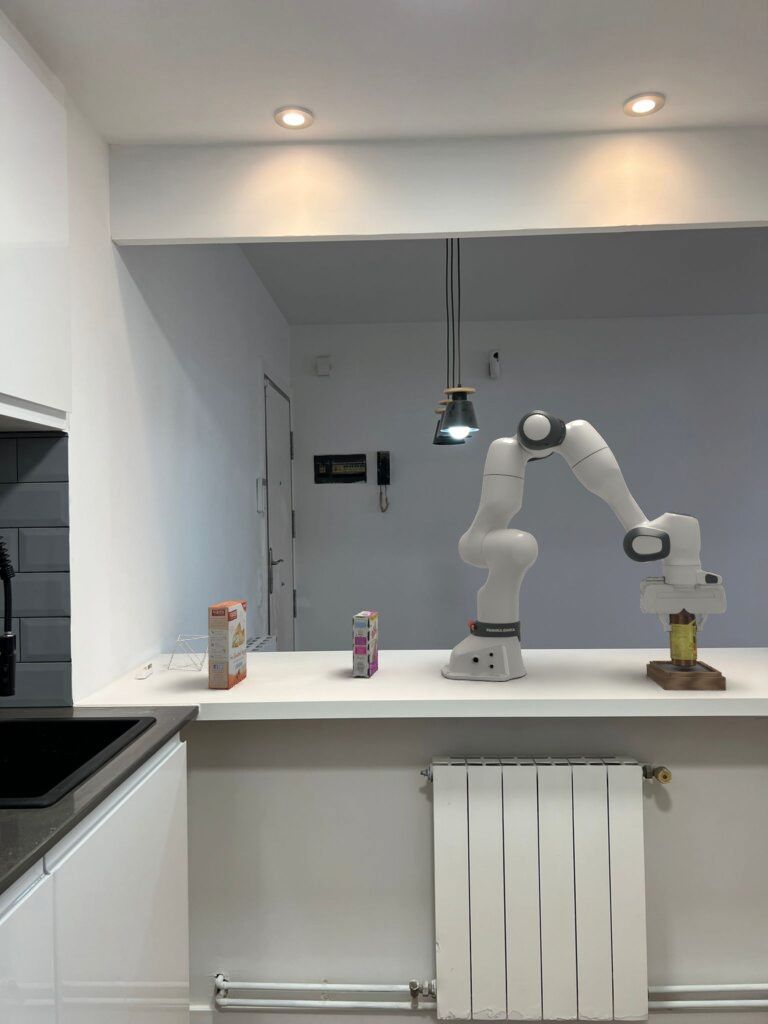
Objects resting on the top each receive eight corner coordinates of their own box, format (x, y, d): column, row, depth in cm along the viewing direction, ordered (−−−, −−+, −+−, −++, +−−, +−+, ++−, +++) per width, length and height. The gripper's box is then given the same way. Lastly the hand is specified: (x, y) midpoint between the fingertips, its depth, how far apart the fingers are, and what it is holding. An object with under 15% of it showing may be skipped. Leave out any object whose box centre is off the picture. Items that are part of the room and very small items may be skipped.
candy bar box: (370, 678, 182) (369, 616, 183) (352, 677, 183) (351, 616, 184) (379, 669, 193) (378, 610, 193) (362, 668, 194) (361, 610, 194)
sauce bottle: (700, 668, 169) (698, 587, 169) (673, 667, 170) (671, 587, 170) (693, 662, 175) (691, 584, 175) (667, 662, 176) (665, 584, 176)
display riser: (665, 690, 165) (665, 673, 165) (646, 675, 180) (646, 660, 180) (725, 690, 164) (725, 673, 164) (701, 675, 179) (701, 660, 179)
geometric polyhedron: (217, 668, 199) (217, 636, 199) (182, 674, 191) (182, 641, 191) (197, 662, 208) (197, 632, 208) (162, 668, 200) (162, 636, 200)
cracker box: (230, 689, 173) (229, 606, 173) (207, 689, 174) (206, 606, 174) (248, 676, 187) (247, 599, 187) (227, 676, 188) (225, 599, 188)
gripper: (643, 578, 170) (644, 634, 170) (728, 577, 169) (730, 633, 169) (635, 575, 176) (636, 629, 176) (718, 574, 175) (719, 629, 175)
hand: (683, 631), depth 172 cm, fingers closed on sauce bottle, 6 cm apart
